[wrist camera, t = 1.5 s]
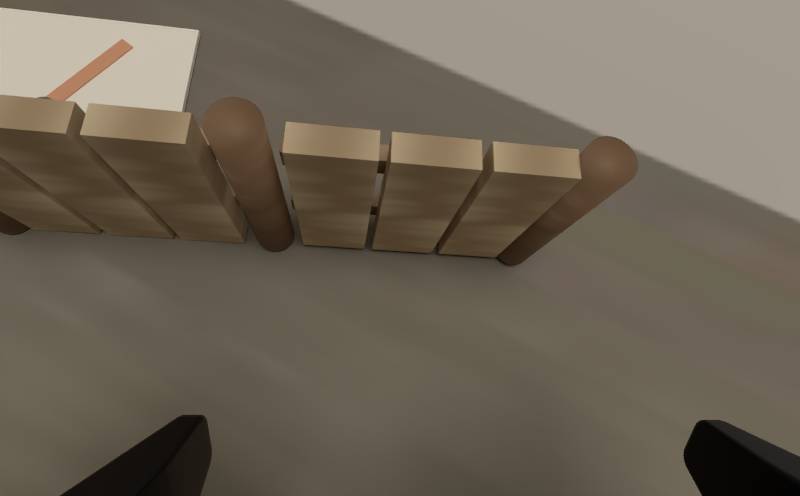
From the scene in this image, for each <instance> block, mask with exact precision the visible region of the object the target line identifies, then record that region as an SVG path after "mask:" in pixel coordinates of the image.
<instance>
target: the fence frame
mask: <svg viewBox="0 0 800 496" xmlns="http://www.w3.org/2000/svg"><path fill="white" fill-rule="evenodd" d="M216 159H217V160H218V162H219V164H220V166H221V168H222V170H223V172H224V174H225V176H226V178H227V180H228V181H226V179H225V177H224V175H223V173H222V171H221V169H220V167H219V165H218V163H217V161H216ZM239 205H241V207H242V209H243V211H244V213H245V215H246V217H247V219H248V221H249V223H250V225H251V227H252V229H253V231H254V233H255V235H256V237H257V239H258V240H259V242H260V244H261V246H262V247H263V248H265V249H266V250H268V251H272V252H279V251H283V250H285V249H286V248H288V247H289V246H290V245H291V243H292V242H293V239H294V230H293V226H292V222H291V219H290V215H289V211H288V208H287V204H286V200H285V197H284V193H283V189H282V186H281V182H280V178H279V175H278V171H277V167H276V164H275V160H274V156H273V153H272V149H271V145H270V142H269V138H268V134H267V130H266V127H265V123H264V119H263V116H262V113H261V111H260V110H259V108H258V107H257V106H256V105H255V104H253V103H252V102H250V101H248V100H246V99H243V98H238V97H229V98H224V99H221V100H218V101H216V102H215V103H213V104H212V105H211V106H209V107H208V109H207V110H206V111H205V113H204V115H203V118H202V128H199V126H198V124H197V122H196V121H195V119H194V117H193V115H192V113H189V112H179V111H168V110H157V109H147V108H136V107H126V106H115V105H105V104H94V103H89V104H88V107H87V111H86V113H85V112H84V111H83V110H82V109H81V108H80V107H79V106H78V104H77V103H76V102H73V101H63V100H52V99H42V98H31V97H21V96H10V95H0V232H2V233H5V234H9V235H16V234H20V233H23V232H25V231H27V230H28V229H29V228H31V229H34V230H49V231H64V232H79V233H94V234H100V233H101V229H102V230H103V231H105V232H106V233H107V234H109V235H124V236H139V237H154V238H169V239H174V236H175V232H176V234H177V235H178V236H179V237H180V238H181V239H185V240H200V241H215V242H230V243H245V242H246V235H247V228H248V221H247V219H246V217H245V215H244V213H243V212H242V210H241V208H240V206H239Z"/></svg>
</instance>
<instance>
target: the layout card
mask: <svg viewBox="0 0 800 496" xmlns="http://www.w3.org/2000/svg"><path fill="white" fill-rule="evenodd" d="M200 35H201V34H200V32H199V30H193V29H184V28H175V27H166V26H157V25H149V24H140V23H131V22H122V21H113V20H105V19H96V18H87V17H78V16H69V15H61V14H52V13H43V12H34V11H26V10H17V9H8V8H0V95H10V96H21V97H31V98H42V99H52V100H63V101H73V102H76V103H77V104H78V106H79V107H80V108H81V109H82V110H83V111H84V112H85V113H86V111H87V107H88V104H89V103H94V104H105V105H115V106H126V107H136V108H147V109H157V110H168V111H179V112H185V107H186V102H187V97H188V93H189V88H190V83H191V78H192V73H193V69H194V64H195V59H196V54H197V49H198V45H199V40H200Z"/></svg>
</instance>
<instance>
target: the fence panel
mask: <svg viewBox="0 0 800 496" xmlns="http://www.w3.org/2000/svg"><path fill="white" fill-rule="evenodd" d="M279 152H280V156H281V160H282V164H283V165H285V167H286V171H287V175H288V180H289V184H290V188H291V192H292V197H291V201H292V206H293V209H295V210H296V214H297V218H298V223H299V227H300V231H301V236H302V240H303V244H304V245H316V246H331V247H346V248H361V249H364V248H365V242H366V236H367V229H368V223H369V217H370V215H376V217H375V222H374V227H373V241H372V249H376V250H391V251H406V252H421V253H431V252H432V251H433V249H434V247H435V246H436V244H437V243H438V254H451V255H465V256H480V257H497V256H498V257H499V258H500V259H501V260H502V261H503V262H505V263H507V264H510V265H517V264H520V263H522V262H523V261H524V260H526V259H527V258H528V257H530V256H531V255H532V254H534V253H535V252H536V251H538V250H539V249H540V248H542V247H543V246H544V245H546V244H547V243H548V242H550V241H551V240H552V239H554V238H555V237H556V236H558V235H559V234H560V233H562V232H563V231H564V230H565V229H567V228H568V227H569V226H571V225H572V224H573V223H575V222H576V221H577V220H579V219H580V218H581V217H583V216H584V215H585V214H587V213H588V212H589V211H591V210H592V209H593V208H595V207H596V206H597V205H599V204H600V203H601V202H603V201H604V200H605V199H607V198H608V197H609V196H611V195H612V194H613V193H615V192H616V191H617V190H619V189H620V188H621V187H623V186H624V185H625V184H627V183H628V182H629V181H630V180H632V179H633V178H634V176H635V175H636V173H637V169H638V162H637V158H636V155H635V153H634V152H633V150H632V149H631V148H630V147H629V146H628V145H627V144H626V143H625V142H623V141H622V140H620V139H618V138H615V137H610V136H603V137H599V138H597V139H595V140H594V141H592V142H591V143H590V144H589V145H588V146H587V147H586V148H585V149H584V150H583V151H582V153H581V154H580V155H579V149H568V148H557V147H547V146H536V145H526V144H515V143H505V142H494V141H493V142H492V144H491V146H490V147H489V149H488V151H487V152H486V154H482V140H473V139H463V138H452V137H442V136H431V135H421V134H410V133H400V132H392V135H391V140H390V145H382V144H380V131H379V130H368V129H357V128H347V127H336V126H326V125H315V124H305V123H294V122H286V127H285V135H281V143H280V151H279ZM377 173H383V174H384V176H383V181H382V186H381V191H380V193H374V187H375V181H376V175H377Z"/></svg>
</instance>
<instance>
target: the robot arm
mask: <svg viewBox="0 0 800 496" xmlns="http://www.w3.org/2000/svg"><path fill="white" fill-rule="evenodd" d="M211 454H212V448H211V441H210V436H209V430H208V424H207V420H206V418H205V417H204V416H203V415H182V416H179V417H177V418H176V419H174V420H173V421H171V422H170V423H168V424H167V425H165V426H164V427H162V428H161V429H159V430H158V431H156V432H155V433H153V434H152V435H150V436H149V437H147V438H146V439H144V440H143V441H141V442H140V443H138V444H137V445H135V446H134V447H132V448H131V449H129V450H128V451H126V452H125V453H123V454H122V455H120V456H119V457H117V458H116V459H114V460H113V461H111V462H110V463H108V464H107V465H105V466H104V467H102V468H101V469H99V470H98V471H96V472H95V473H93V474H92V475H90V476H89V477H87V478H86V479H84V480H83V481H81V482H80V483H78V484H77V485H75V486H74V487H72V488H71V489H69V490H68V491H66V492H65V493H63V494H62V495H60V496H200V495H201V491H202V488H203V485H204V482H205V478H206V475H207V472H208V469H209V465H210V461H211ZM684 461H685V465H686V467H687V469H688V471H689V473H690V474H691V476H692V478H693V480H694V482H695V484H696V485H697V487H698V489H699V491H700V493H701V495H702V496H800V457H799V456H797V455H795V454H793V453H790V452H788V451H786V450H784V449H782V448H780V447H778V446H776V445H773V444H771V443H769V442H767V441H765V440H763V439H761V438H759V437H756V436H754V435H752V434H750V433H748V432H746V431H744V430H742V429H739V428H737V427H735V426H733V425H731V424H729V423H727V422H724V421H721V420H701V421H699V422H697V423H696V425H695V427H694V429H693V431H692V433H691V435H690V438H689V440H688V442H687V444H686V446H685V449H684Z"/></svg>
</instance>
